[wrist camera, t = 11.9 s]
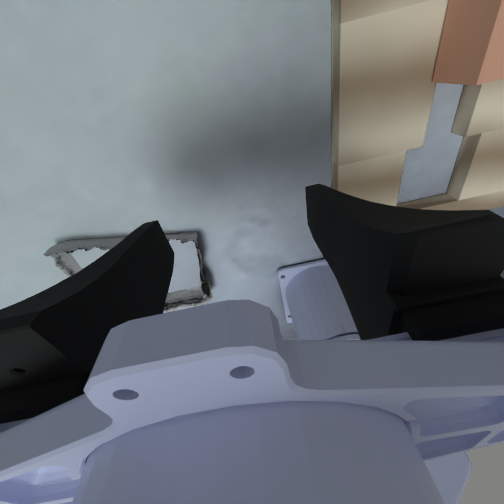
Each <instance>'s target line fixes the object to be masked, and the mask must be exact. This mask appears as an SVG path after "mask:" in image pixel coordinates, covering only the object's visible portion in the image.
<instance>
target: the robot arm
mask: <svg viewBox="0 0 504 504" xmlns="http://www.w3.org/2000/svg"><path fill="white" fill-rule="evenodd" d="M305 190H306V204H307V219H308V226H309V228H310V231H311V233H312V236H313V238H314V240H315V242H316V244H317V246H318V248H319V249H320V251H321V253H322V254H323V256H324V258H325V259H323V260H318V261H313V262H308V263H304V264H299V265H294V266H289V267H285V268H281V269H279V270H278V278H279V283H280V289H281V294H282V299H283V305H284V310H285V316H286V321H287V322H288V323H293V325H294V329H295V333H296V337H297V340H291V339H283V337H282V335H281V332H280V328H279V323H278V319H277V318H276V316H275V315H274V314H273V312H272V311H271V310H270V308H269V307H267V306H264V305H261V304H259V303H256V302H253V301H251V300H226V301H221V302H216V303H211V304H207V305H202V306H197V307H192V308H187V309H182V310H178V311H173V312H168V313H163V310H164V305H165V301H166V297H167V293H168V289H169V285H170V281H171V277H172V273H173V266H174V252H173V250H172V248H171V246H170V244H169V242H168V240H167V238H166V236H165V234H164V232H163V230H162V228H161V226H160V224H159V222H158V220H157V221H152V222H148V223H145V224H143V225H141V226H140V227H138V228H137V229H136V230H134V231H133V232H132V233H131V234H129V235H128V236H127V237H126V238H124V239H123V240H122V241H121V242H119V243H118V244H117V245H116V246H114V247H113V248H112V249H110V250H109V251H108V252H106V253H105V254H104V255H103V256H101V257H100V258H99V259H97V260H96V261H94V262H93V263H91V264H90V265H88V266H87V267H85V268H84V269H82V270H80V271H79V272H77V273H76V274H74V275H72V276H70V277H69V278H67V279H65V280H63V281H61V282H59V283H58V284H56V285H54V286H52V287H50V288H48V289H46V290H44V291H42V292H40V293H38V294H36V295H34V296H32V297H29V298H27V299H25V300H23V301H21V302H18V303H16V304H14V305H11V306H9V307H6V308H4V309H1V310H0V504H458V503H459V500H460V498H461V495H462V493H463V490H464V488H465V485H466V482H467V480H468V478H469V475H470V472H471V468H472V463H471V461H470V459H469V457H468V455H469V450H473V449H477V448H482V447H485V446H490V445H494V444H498V443H503V442H504V279H503V278H502V277H501V276H500V275H501V273H502V271H503V270H504V218H502V217H501V216H499V215H497V214H495V213H493V212H492V211H490V210H426V209H413V208H405V207H397V206H390V205H385V204H380V203H376V202H371V201H367V200H364V199H361V198H357V197H354V196H351V195H348V194H345V193H343V192H340V191H337V190H335V189H332V188H330V187H327V186H324V185H321V184H316V185H311V186H307V187H305ZM282 275H284V276H282Z"/></svg>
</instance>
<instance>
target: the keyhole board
mask: <svg viewBox="0 0 504 504" xmlns="http://www.w3.org/2000/svg"><path fill="white" fill-rule="evenodd" d="M448 4H449V0H332V96H331V188H332V189H335V190H337V191H340V192H343V193H345V194H348V195H351V196H354V197H357V198H361V199H364V200H367V201H371V202H376V203H380V204H385V205H390V206H397V207H405V208H413V209H426V210H487V209H492V208H497V207H501V206H504V79H501V80H497V81H493V82H488V83H484V84H480V85H464V87H463V91H462V95H461V98H460V102H459V105H458V109H457V113H456V116H455V120H454V123H453V127H452V130H451V133H454V134H457V135H461V136H464V138H463V141H462V144H461V148H460V151H459V154H458V157H457V160H456V164H455V167H454V170H453V173H452V176H451V180H450V183H449V186H448V189H447V192H446V194H442V195H437V196H433V197H428V198H423V199H419V200H414V201H410V202H405V203H401V204H397V199H398V194H399V189H400V183H401V178H402V172H403V167H404V161H405V156H406V150H411V149H415V148H420V147H423V142H424V137H425V133H426V128H427V124H428V119H429V115H430V110H431V106H432V101H433V96H434V92H435V87H436V83H437V82H432V80H433V75H434V71H435V66H436V61H437V56H438V51H439V47H440V42H441V37H442V32H443V28H444V23H445V18H446V13H447V8H448Z"/></svg>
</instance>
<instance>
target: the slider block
mask: <svg viewBox="0 0 504 504" xmlns="http://www.w3.org/2000/svg"><path fill="white" fill-rule="evenodd" d="M501 79H504V0H449V4H448V8H447V13H446V18H445V23H444V28H443V32H442V37H441V42H440V47H439V51H438V56H437V61H436V66H435V71H434V75H433V80H432V82H438V83H451V84H464V85H480V84H484V83H488V82H493V81H497V80H501Z"/></svg>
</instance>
